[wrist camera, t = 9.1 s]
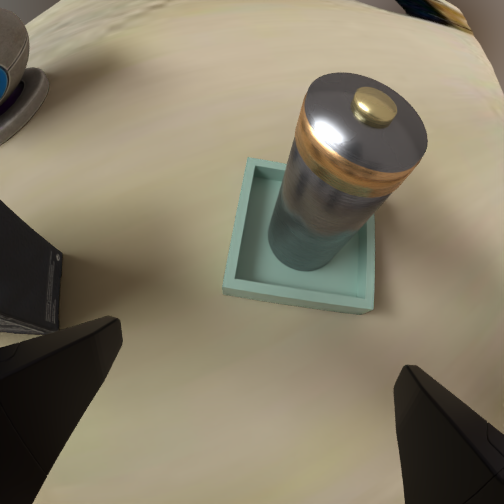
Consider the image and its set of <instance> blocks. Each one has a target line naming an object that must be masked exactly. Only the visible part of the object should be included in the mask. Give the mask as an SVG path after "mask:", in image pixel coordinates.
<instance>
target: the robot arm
mask: <svg viewBox="0 0 504 504" xmlns="http://www.w3.org/2000/svg"><path fill="white" fill-rule="evenodd" d="M122 342H123V338H122V330H121V323H120V320H119V319H118V318H116V317H112V316H105V317H102V318H98V319H95V320H92V321H89V322H85V323H82V324H79V325H76V326H72V327H69V328H66V329H62V330H59V331H56V332H53V333H49V334H46V335H43V336H39V337H36V338H33V339H29V340H26V341H22V342H20V343H15V344H12V345H9V346H5V347H1V348H0V504H32V503H33V502H34V500H35V498H36V496H37V494H38V492H39V490H40V488H41V487H42V485H43V483H44V481H45V479H46V478H47V475H48V474H49V472H50V470H51V468H52V467H53V465H54V463H55V461H56V459H57V458H58V456H59V454H60V453H61V451H62V449H63V447H64V446H65V444H66V442H67V441H68V439H69V437H70V436H71V434H72V432H73V431H74V429H75V427H76V426H77V424H78V422H79V421H80V419H81V417H82V416H83V414H84V412H85V411H86V409H87V408H88V406H89V404H90V403H91V401H92V400H93V398H94V396H95V395H96V393H97V392H98V390H99V388H100V387H101V385H102V384H103V382H104V380H105V378H106V376H107V375H108V372H109V370H110V368H111V366H112V364H113V362H114V360H115V358H116V356H117V354H118V352H119V350H120V348H121V346H122ZM394 405H395V422H396V434H397V441H398V447H399V454H400V462H401V470H402V478H403V487H404V498H405V504H504V434H502V433H501V432H500V431H498V430H497V429H496V428H495V427H493V426H492V425H491V424H490V423H487V421H486V420H485V419H483V418H482V417H481V416H480V415H478V414H477V413H476V412H475V411H473V410H472V409H471V408H470V407H468V406H467V405H466V404H465V403H463V402H462V401H461V400H460V399H458V398H457V397H456V396H455V395H453V394H452V393H451V392H450V391H448V390H447V389H446V388H445V387H443V386H442V385H441V384H440V383H438V382H437V381H436V380H435V379H433V378H432V377H431V376H429V375H428V374H427V373H426V372H424V371H423V370H422V369H421V368H419V367H418V366H416V365H405V366H404V367H403V368H402V370H401V372H400V374H399V376H398V379H397V381H396V383H395V385H394Z"/></svg>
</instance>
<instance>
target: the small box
mask: <svg viewBox="0 0 504 504" xmlns="http://www.w3.org/2000/svg"><path fill="white" fill-rule="evenodd" d="M61 271H62V252H60V251H59V250H58V249H56V248H55V247H54V246H52V245H51V244H50V243H49V242H47V241H46V240H45V239H44V238H43V237H41V236H40V235H39V234H38V233H37V232H35V231H34V230H33V229H32V228H31V227H30V226H28V225H27V224H26V223H25V222H24V221H23V220H22V219H20V218H19V217H18V216H17V215H16V214H15V213H14V212H13V211H12V210H11V209H10V208H9V207H7V206H6V205H5V204H4V203H3V202H2V201H1V200H0V332H8V333H14V334H35V335H36V334H39V335H46V334H49V333H53V332H56V331H59V330H58V328H59V320H58V314H59V311H58V310H59V290H60V278H61Z"/></svg>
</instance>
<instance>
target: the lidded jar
mask: <svg viewBox="0 0 504 504" xmlns="http://www.w3.org/2000/svg"><path fill="white" fill-rule="evenodd" d="M427 142H428V140H427V133H426V129H425V127H424V124H423V122H422V120H421V118H420V117H419V115H418V114H417V112H416V111H415V110H414V108H413V107H412V106H411V105H410V104H409V103H408V102H407V101H406V100H405V99H404V98H403V97H402V96H400V95H399V94H398V93H397V92H395V91H394V90H392V89H391V88H389V87H388V86H386V85H384V84H382V83H380V82H378V81H376V80H373V79H371V78H368V77H365V76H362V75H358V74H352V73H331V74H327V75H323V76H321V77H319V78H317V79H316V80H315V81H314V82H313V83H312V84H311V85H310V87H309V89H308V92H307V93H306V95H305V98H304V100H303V104H302V108H301V111H300V115H299V119H298V122H297V126H296V130H295V137H294V141H293V144H292V148H291V151H290V155H289V159H288V162H287V165H286V169H285V172H284V176H283V179H282V183H281V186H280V190H279V193H278V197H277V200H276V204H275V207H274V211H273V214H272V217H271V221H270V224H269V228H268V242H269V246H270V248H271V250H272V252H273V254H274V255H275V257H276V258H277V259H278V260H279V261H280V262H281V263H283V264H284V265H286V266H287V267H289V268H291V269H294V270H298V271H314V270H317V269H320V268H322V267H324V266H325V265H327V264H328V263H329V262H330V261H331V260H332V259H333V258H334V256H335V255H336V254H337V253H338V252H339V251H340V250H341V249H342V248H343V247H344V246H345V245H346V244H347V243H348V241H349V240H350V239H351V238H352V237H353V236H354V235H355V234H356V233H357V232H358V231H359V229H360V228H361V227H362V226H363V225H364V224H365V223H366V222H367V221H368V220H369V218H370V217H371V216H372V215H373V214H374V213H375V212H376V211H377V209H378V208H379V207H380V206H381V205H382V204H383V203H384V201H385V200H386V199H387V198H388V197H389V196H390V195H391V193H392V192H393V191H395V190H396V189H397V188H398V187H399V186H400V185H401V184H402V183H403V181H404V180H405V179H406V178H407V177H408V175H409V174H410V173H411V172H412V171H413V170H414V168H415V167H416V166H417V165H418V164H419V162H420V160H421V159H422V157H423V155H424V153H425V152H426V149H427Z"/></svg>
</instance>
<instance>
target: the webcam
mask: <svg viewBox="0 0 504 504" xmlns="http://www.w3.org/2000/svg"><path fill="white" fill-rule="evenodd" d="M28 57H29V36H28V32H27V30H26V28H25V25H24V24H23V22H22V21H21V20H20V18H19V17H18V16H17V15H15V14H14V13H13V12H11V11H8V10H6V9H2V8H0V145H1V144H2V143H4V142H5V141H6V140H8V139H9V138H10V137H11V136H13V135H14V134H15V133H16V132H17V131H18V130H19V129H21V128H22V127H23V126H24V125H25V124H26V123H27V122H28V120H29V119H30V118H31V117H32V116H33V115H34V113H35V112H36V111H37V110H38V108H39V107H40V105H41V104H42V103H43V101H44V99H45V97H46V95H47V93H48V89H49V81H48V78H47V76H46V74H45V73H44V72H43V71H42V70H41V69H39V68H34V67H32V68H26V65H27V62H28Z"/></svg>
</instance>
